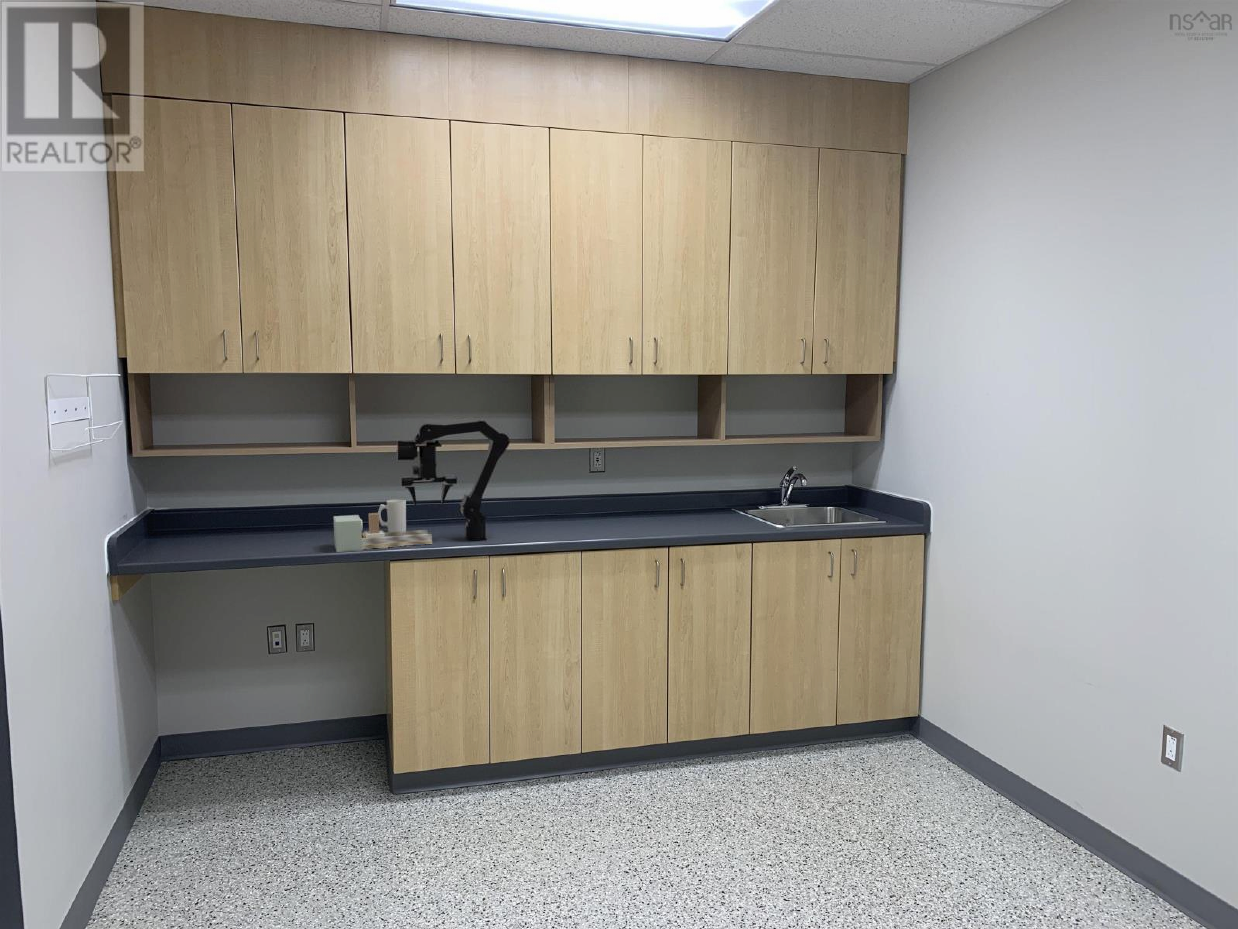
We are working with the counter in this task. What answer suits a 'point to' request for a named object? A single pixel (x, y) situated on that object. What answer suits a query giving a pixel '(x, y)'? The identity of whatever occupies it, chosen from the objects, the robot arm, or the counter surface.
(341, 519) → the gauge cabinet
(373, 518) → the brown post on base
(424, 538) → the patterned tray
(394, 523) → the mug
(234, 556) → the counter surface
